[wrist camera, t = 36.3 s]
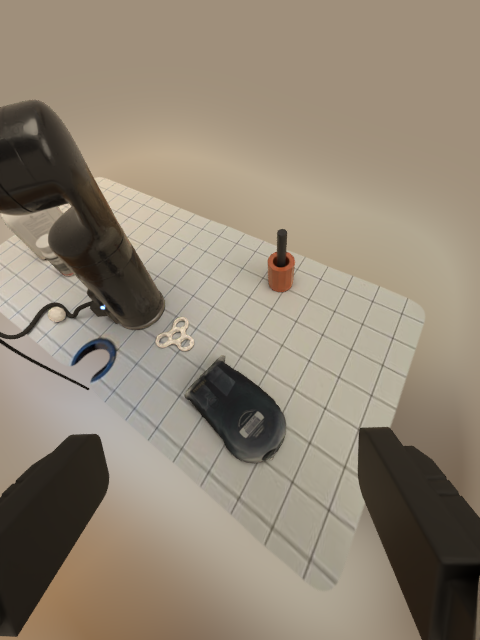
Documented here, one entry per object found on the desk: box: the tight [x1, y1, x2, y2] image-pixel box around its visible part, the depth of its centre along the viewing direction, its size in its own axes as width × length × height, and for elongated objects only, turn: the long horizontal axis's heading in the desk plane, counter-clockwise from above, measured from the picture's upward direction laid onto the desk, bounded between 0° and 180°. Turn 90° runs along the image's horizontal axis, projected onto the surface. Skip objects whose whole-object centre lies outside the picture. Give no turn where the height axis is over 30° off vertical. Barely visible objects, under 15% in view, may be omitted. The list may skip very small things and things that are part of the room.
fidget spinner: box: [156, 317, 194, 351], centre depth 50 cm, size 7×6×1 cm
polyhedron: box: [48, 307, 66, 322], centre depth 53 cm, size 3×3×3 cm
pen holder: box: [268, 252, 295, 292], centre depth 51 cm, size 5×5×6 cm
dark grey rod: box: [277, 229, 287, 268], centre depth 48 cm, size 2×2×12 cm
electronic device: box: [185, 355, 286, 463], centre depth 41 cm, size 9×6×15 cm
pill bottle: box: [36, 234, 74, 276], centre depth 58 cm, size 5×5×8 cm
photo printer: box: [1, 206, 63, 260], centre depth 60 cm, size 10×4×12 cm, turn 125°
